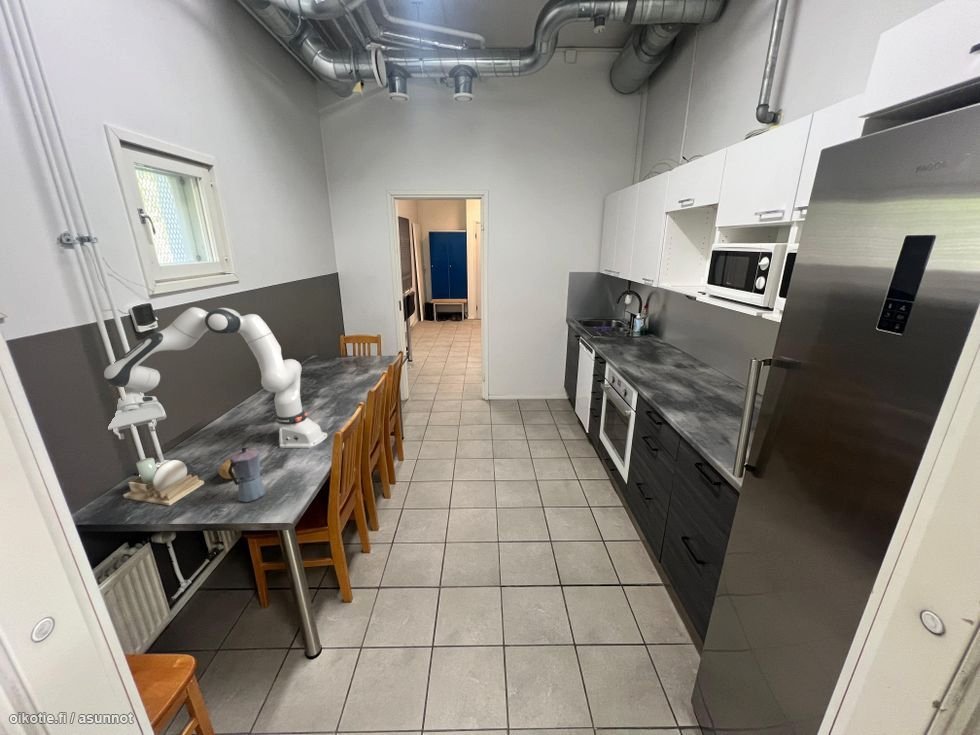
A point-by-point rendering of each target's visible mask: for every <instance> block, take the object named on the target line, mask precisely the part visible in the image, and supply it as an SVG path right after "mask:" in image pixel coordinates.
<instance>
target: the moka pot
mask: <svg viewBox="0 0 980 735" xmlns="http://www.w3.org/2000/svg"><path fill="white" fill-rule="evenodd" d="M260 455H261V454H260V450H258V449H257V447H251V448H248V449H247V447H242V448H241V450H240V451H238V452H235V453H233V454H232V455H231V456H230V457H229V459H230V461H231V464H230V467H229V470H228V472H229V475H230V476H231V478H232V479H231V480H232V481H233V484H235V486H238V487H237V488H238V492H237V493H238V495H237V497H238V501H240V502H242V503H249V502H253V501H256V500H258V499H261V498H262V497H263V496H264V495H265V494H266V490H265V487H264V484H263V481H262V478H261V476H260V475H261V472H260V470H261V458H260V457H261V456H260ZM232 468H233V470H234V472H235V475H236V476H237V478H235V477H234V473H233V472H232Z"/></svg>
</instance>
